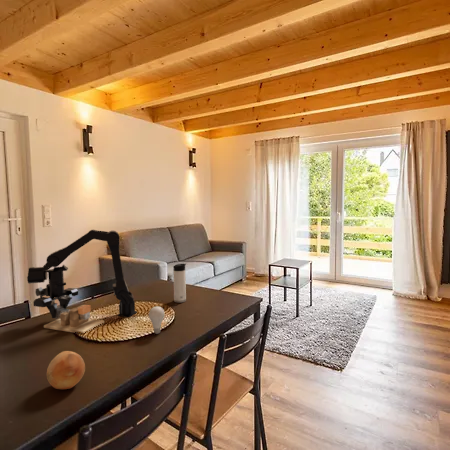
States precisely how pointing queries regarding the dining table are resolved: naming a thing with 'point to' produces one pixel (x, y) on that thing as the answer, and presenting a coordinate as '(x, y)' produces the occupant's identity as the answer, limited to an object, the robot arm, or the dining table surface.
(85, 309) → the block
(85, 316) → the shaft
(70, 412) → the dining table surface
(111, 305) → the dining table surface
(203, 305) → the dining table surface
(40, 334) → the dining table surface
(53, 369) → the onion
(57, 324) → the bearing stand
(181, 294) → the travel mug
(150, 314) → the lightbulb
